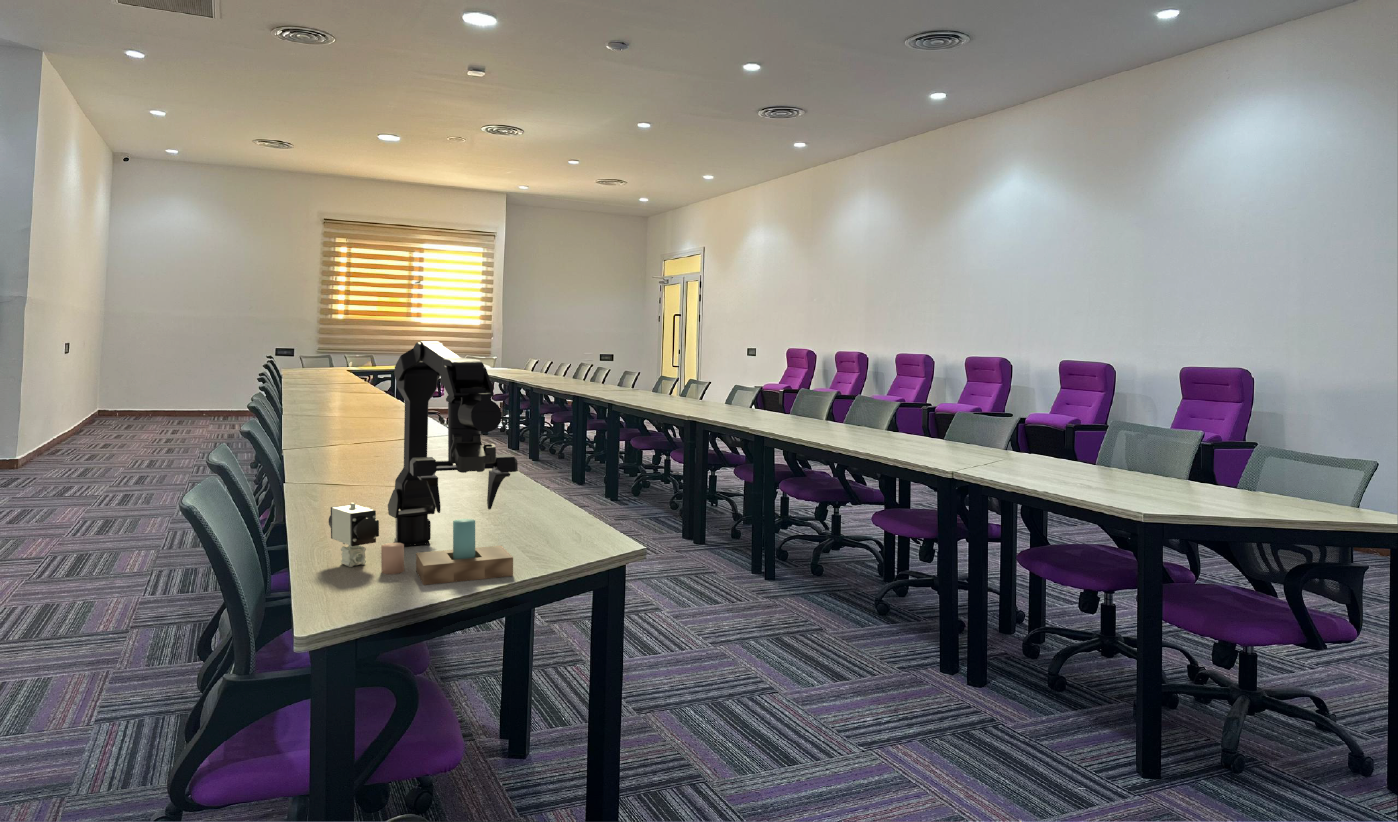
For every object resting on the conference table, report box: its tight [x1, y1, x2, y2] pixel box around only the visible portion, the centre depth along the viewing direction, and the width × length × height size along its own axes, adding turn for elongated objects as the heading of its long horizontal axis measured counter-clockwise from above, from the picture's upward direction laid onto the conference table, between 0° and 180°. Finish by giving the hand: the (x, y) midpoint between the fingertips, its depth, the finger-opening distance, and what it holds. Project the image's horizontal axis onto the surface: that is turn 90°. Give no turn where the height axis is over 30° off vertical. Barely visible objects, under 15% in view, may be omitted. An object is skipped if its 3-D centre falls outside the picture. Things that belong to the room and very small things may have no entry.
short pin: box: [380, 542, 405, 575], centre depth 155 cm, size 4×4×5 cm
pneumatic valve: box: [328, 502, 380, 568], centre depth 159 cm, size 6×12×12 cm, turn 48°
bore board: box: [415, 545, 514, 586], centre depth 154 cm, size 16×10×4 cm, turn 116°
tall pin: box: [452, 518, 476, 560], centre depth 154 cm, size 4×4×10 cm
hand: (464, 510), depth 153 cm, fingers open, 9 cm apart
